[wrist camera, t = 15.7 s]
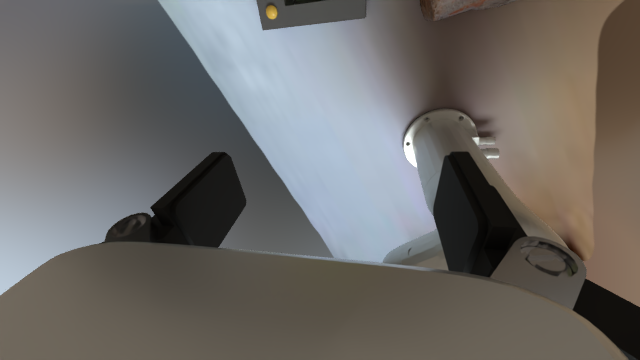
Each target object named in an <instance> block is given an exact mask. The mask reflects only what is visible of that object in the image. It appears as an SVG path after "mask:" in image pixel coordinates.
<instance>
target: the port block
mask: <svg viewBox="0 0 640 360" xmlns="http://www.w3.org/2000/svg"><path fill="white" fill-rule="evenodd" d="M257 5H258V10H259V15H260V20H261V24H262V29H263V30H269V29H278V28H286V27H294V26H303V25H311V24H320V23H328V22H337V21H345V20H353V19H362V18H365V17H366V0H326V1H319V2H312V3H304V4H297V5H294V0H257Z"/></svg>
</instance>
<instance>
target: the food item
mask: <svg viewBox="0 0 640 360" xmlns="http://www.w3.org/2000/svg"><path fill="white" fill-rule="evenodd" d="M514 1H516V0H420V5H421V11H422V13H423V16H424V18H425V20H430V21H438V20H440V19H445V18H447V17H451V16H455V15H456V14H459V13H462V12H465V11H468V10H471V9H474V10H482V9H488V8H490V7H499V6H502V5H505V4H508V3H510V2H514Z"/></svg>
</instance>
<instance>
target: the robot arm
mask: <svg viewBox="0 0 640 360" xmlns="http://www.w3.org/2000/svg"><path fill="white" fill-rule="evenodd" d="M460 116H461V117H460ZM426 117H428V118H427V119H425V118H426ZM459 117H460V118H459ZM406 142H408V143H406ZM494 143H495V137H480V136H478V135H477V129H476V126H475V124H474V123H473V121H472V120H471V119H470V118H469V117H468V116H467V115H466V114H464V113H463V112H460V111H458V110H454V109H438V110H433V111H430V112H428V113H425V114H424V115H422V116H420V117H419V118H418V119H416V120H415V121H414V122H413V123H412V124H411V125H410V126H409V128H408V130H407V131H406V133H405V136H404V140H403V149H404V153H405V156H406V158H407V159H408V161H409V162H410V163H411V164H412V165H414V166H415V167H417V169H418V173H419V177H420V181H421V185H422V188H423V192H424V196H425V200H426V204H427V206H428V209H429V211H430V212H431V214H432V215H433V216H434V219H435V223H436V227H437V229H435V230H434V231H432V232H430V233H427V234H425V235H423V236H421V237H418V238H416V239H414V240H412V241H409V242H407V243H405V244H403V245H401V246H399V247H397V248H395V249H393V250H392V251H390V252H389V253H388V254H387V255H386V257H385V258H384V260H383V263H378V262H368V261H357V260H347V259H337V258H326V257H316V256H305V255H294V254H283V253H272V252H260V251H250V250H239V249H227V248H218V247H219V246H220V244H221V243H222V241H223V240H224V238H225V236H226V235H227V233H228V232H229V230H230V229H231V227H232V226H233V224H234V223H235V221H236V220H237V218H238V216H239V215H240V214H241V212H242V210H243V209H244V207H245V206H246V198H245V195H244V192H243V189H242V187H241V184H240V181H239V178H238V176H237V173H236V170H235V167H234V164H233V162H232V159H231V157H230V156H229V155H228V154H227V153H225V152H213V153H211V154H210V155H209V156H208V157H206V158H205V159H204V160H203V161H202V162H201V163H200V164H199V165H197V166H196V167H195V168H194V169H193V170H192V171H191V172H189V173H188V174H187V175H186V176H185V177H184V178H183V179H182V180H181V181H179V182H178V183H177V184H176V185H175V186H174V187H173V188H172V189H170V190H169V191H168V192H167V193H166V194H165V195H164V196H163V197H161V198H160V199H159V200H158V201H157V202H156V203H155V204H154V205H152V206H151V209H152V211H153V212H154V214H155V215H154V216H153V217H151V216H150V215H149V214H147V213H137V214H133V215H130V216H128V217H125V218H123V219H121V220H120V221H118V222H117V223H115V224H114V225H113V226H112V227H111V228H110V229H109V230H108V232H107V234H106V238H105V241H104V242H102V243H99V244H94V245H90V246H86V247H81V248H77V249H74V250H71V251H68V252H65V253H63V254H60V255H58V256H56V257H54V258H52V259H50V260H49V261H47V262H46V263H44V264H43V265H41V266H40V267H38V268H37V269H35V270H34V271H33V272H31V273H30V274H29V275H27V276H26V277H24V278H23V279H22V280H20V281H19V282H18V283H16V284H15V285H14V286H12V287H11V288H10V289H9V290H7V291H6V292H4V293H3V294H2V295H0V360H640V307H638V306H636V305H634V304H633V303H631V302H629V301H627V300H625V299H623V298H621V297H619V296H618V295H616V294H614V293H612V292H610V291H608V290H606V289H604V288H602V287H601V286H598V285H597V284H595V283H593V282H591V281H589V280H587V279H585V278H586V267H585V265H584V263H583V261H582V260H581V259H580V258H579V257H578V256H577V255H576V254H575V253H573V252H572V251H571V250H569V249H568V247H567V246H566V244H565V243H564V242H563V241H562V239H561V238H560V237H559V236H558V235H557V234H556V233H555V232H554V231H553V230H552V229H551V228H550V227H549V226H548V225H547V224H546V223H544V222H543V221H542V220H541V219H540V218H539V217H538V216H536V215H535V214H534V213H533V212H532V211H531V210H530V209H529V208H528V207H526V206H525V205H524V204H523V203H522V202H521V201H520V200H519V199H518V198H517V197H516V195H515V194H514V193H513V192H512V190H511V189H510V188H509V187H508V186H507V184H506V183H505V182H504V181H503V179H502V178H501V177H500V175H499V174H498V173H497V171H496V170H495V168H494V167H493V166H492V164H491V163H490V162H489V160H488V159H498V157H499V149H498V148H486V149H480V148H479V147H478V146H479V145H494Z"/></svg>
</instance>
